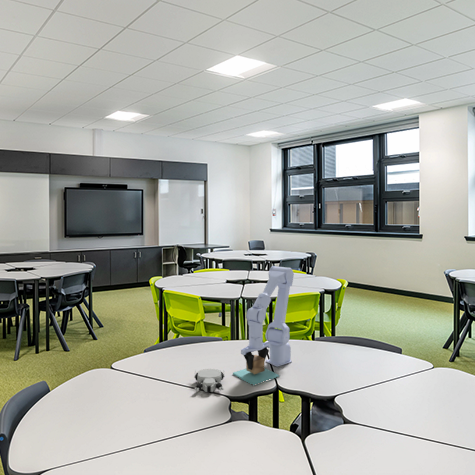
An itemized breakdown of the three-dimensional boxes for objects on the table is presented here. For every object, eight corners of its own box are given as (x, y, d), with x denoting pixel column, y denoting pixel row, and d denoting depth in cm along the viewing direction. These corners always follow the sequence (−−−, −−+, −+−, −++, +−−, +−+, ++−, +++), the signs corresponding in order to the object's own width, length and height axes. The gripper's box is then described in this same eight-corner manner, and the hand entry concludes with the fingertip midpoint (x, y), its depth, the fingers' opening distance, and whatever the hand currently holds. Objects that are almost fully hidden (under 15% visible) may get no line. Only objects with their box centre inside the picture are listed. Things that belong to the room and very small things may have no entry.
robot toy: (225, 396, 160) (224, 377, 175) (224, 385, 160) (224, 367, 174) (193, 397, 160) (195, 377, 175) (192, 386, 159) (194, 367, 174)
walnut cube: (256, 366, 181) (256, 354, 180) (264, 370, 176) (264, 358, 176) (246, 370, 177) (246, 357, 177) (254, 374, 173) (254, 361, 172)
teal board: (257, 366, 186) (257, 364, 186) (279, 376, 175) (279, 375, 175) (232, 374, 178) (232, 372, 178) (253, 386, 167) (253, 384, 167)
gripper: (262, 330, 183) (262, 360, 184) (236, 337, 174) (236, 368, 175) (273, 334, 177) (273, 365, 178) (246, 341, 168) (246, 374, 170)
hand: (255, 367), depth 176 cm, fingers closed on walnut cube, 5 cm apart
